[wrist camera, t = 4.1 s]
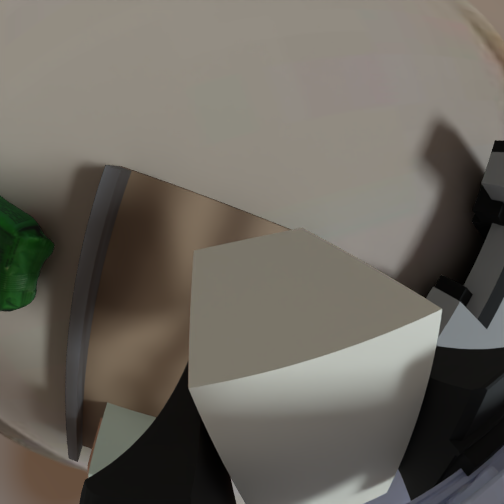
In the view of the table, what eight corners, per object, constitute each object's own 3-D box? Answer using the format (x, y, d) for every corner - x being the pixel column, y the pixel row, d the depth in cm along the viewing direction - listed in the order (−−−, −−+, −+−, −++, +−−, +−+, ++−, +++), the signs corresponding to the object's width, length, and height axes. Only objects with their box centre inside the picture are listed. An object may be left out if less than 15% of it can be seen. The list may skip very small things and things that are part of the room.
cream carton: (302, 227, 12) (442, 308, 4) (316, 375, 14) (386, 492, 7) (187, 252, 11) (171, 391, 4) (228, 398, 14) (257, 535, 6)
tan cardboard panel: (322, 242, 21) (344, 255, 18) (204, 469, 26) (207, 492, 22) (120, 165, 17) (103, 164, 14) (74, 435, 22) (67, 457, 19)
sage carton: (155, 417, 21) (150, 490, 14) (142, 459, 23) (138, 520, 15) (104, 401, 20) (85, 471, 13) (99, 446, 22) (87, 506, 14)
